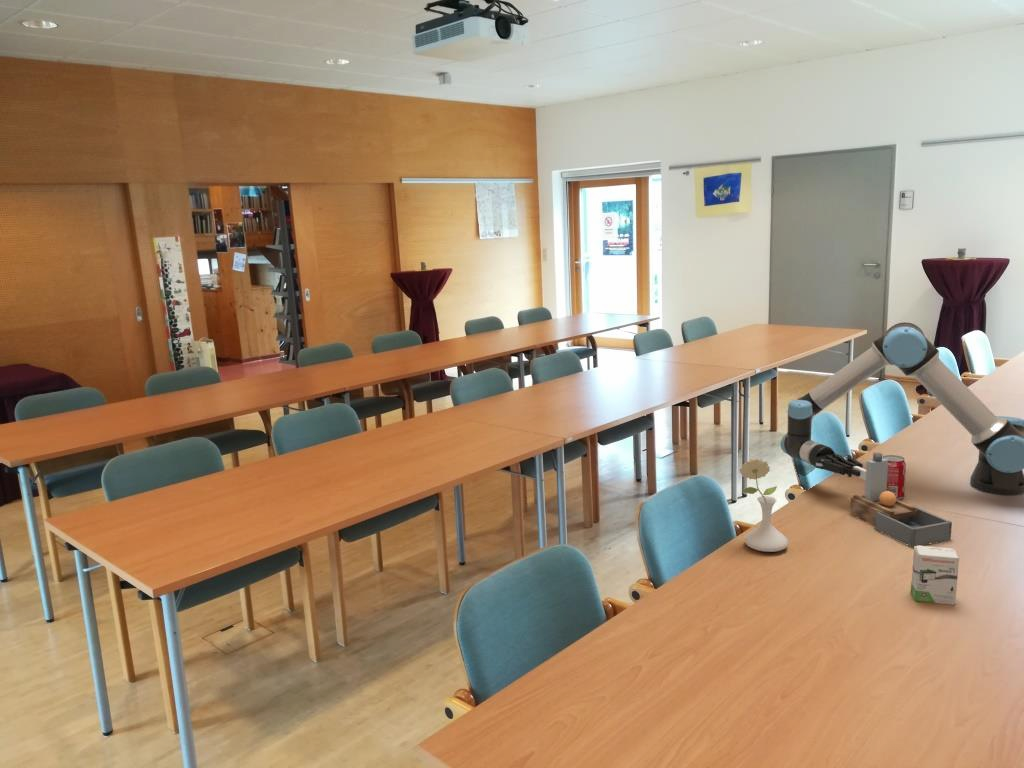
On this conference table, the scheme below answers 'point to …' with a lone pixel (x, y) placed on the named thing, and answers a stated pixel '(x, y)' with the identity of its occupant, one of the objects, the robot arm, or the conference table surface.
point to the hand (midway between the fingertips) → (870, 476)
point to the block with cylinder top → (876, 477)
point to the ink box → (934, 575)
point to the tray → (915, 528)
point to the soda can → (896, 475)
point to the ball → (887, 498)
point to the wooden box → (879, 509)
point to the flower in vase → (765, 534)
